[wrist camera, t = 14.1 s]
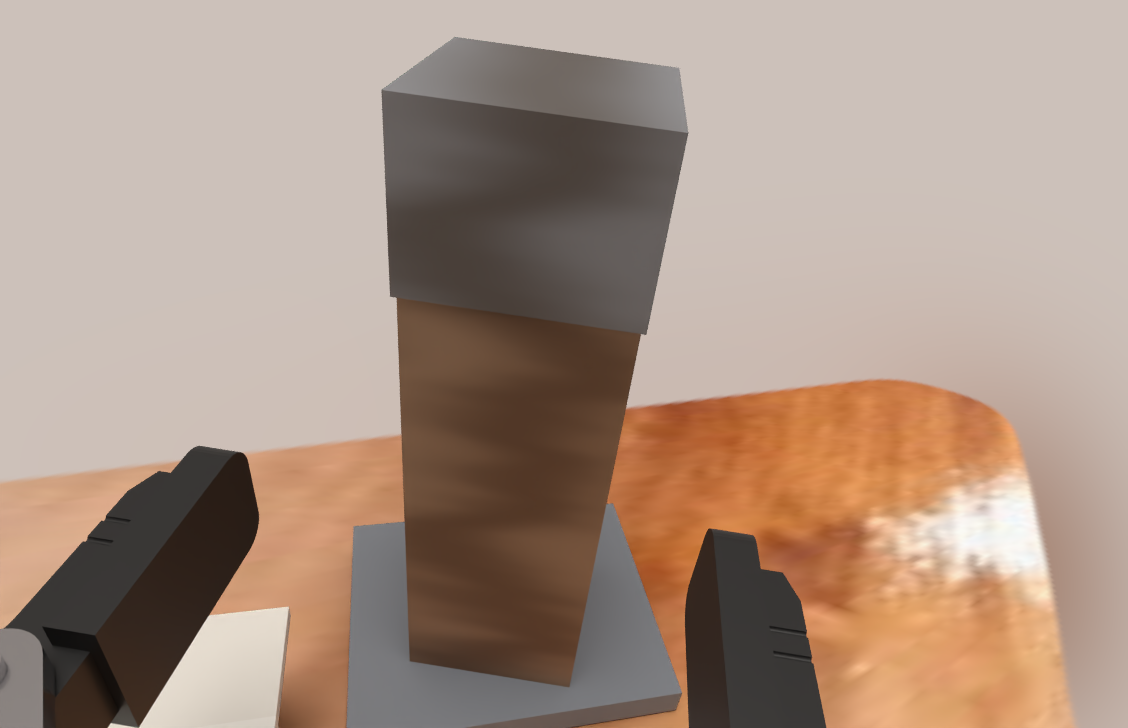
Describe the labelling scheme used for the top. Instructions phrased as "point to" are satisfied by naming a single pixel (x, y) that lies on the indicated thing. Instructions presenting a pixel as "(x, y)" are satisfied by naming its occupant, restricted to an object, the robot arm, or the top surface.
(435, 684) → the mat
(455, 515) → the capped block
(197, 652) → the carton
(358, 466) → the top surface
